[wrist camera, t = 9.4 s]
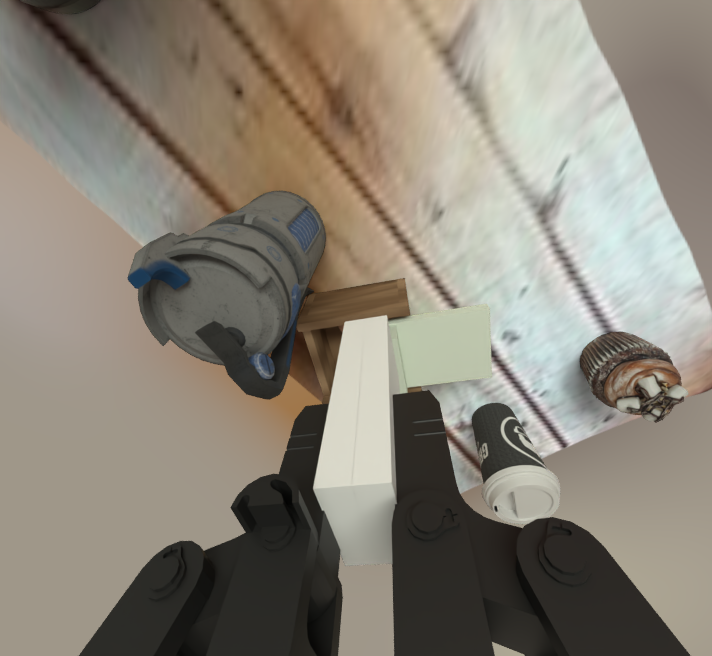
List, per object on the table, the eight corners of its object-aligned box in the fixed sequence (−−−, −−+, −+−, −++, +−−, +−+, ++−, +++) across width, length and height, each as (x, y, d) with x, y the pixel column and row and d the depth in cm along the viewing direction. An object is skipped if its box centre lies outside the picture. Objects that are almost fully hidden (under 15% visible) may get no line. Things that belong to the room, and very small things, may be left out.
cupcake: (662, 332, 47) (726, 378, 38) (623, 387, 52) (672, 439, 43) (593, 320, 47) (642, 363, 38) (561, 376, 52) (597, 427, 43)
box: (308, 294, 48) (295, 324, 40) (404, 278, 45) (408, 306, 38) (331, 370, 54) (324, 409, 46) (417, 359, 52) (422, 397, 44)
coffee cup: (469, 392, 54) (497, 476, 41) (531, 398, 54) (579, 484, 41) (456, 436, 59) (477, 523, 46) (513, 441, 59) (551, 531, 46)
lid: (371, 321, 41) (370, 340, 37) (486, 303, 39) (497, 322, 35) (385, 384, 45) (385, 406, 42) (489, 371, 43) (498, 393, 40)
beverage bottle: (290, 298, 48) (214, 438, 26) (225, 212, 43) (65, 299, 21) (353, 262, 45) (326, 388, 23) (291, 165, 40) (184, 211, 18)
